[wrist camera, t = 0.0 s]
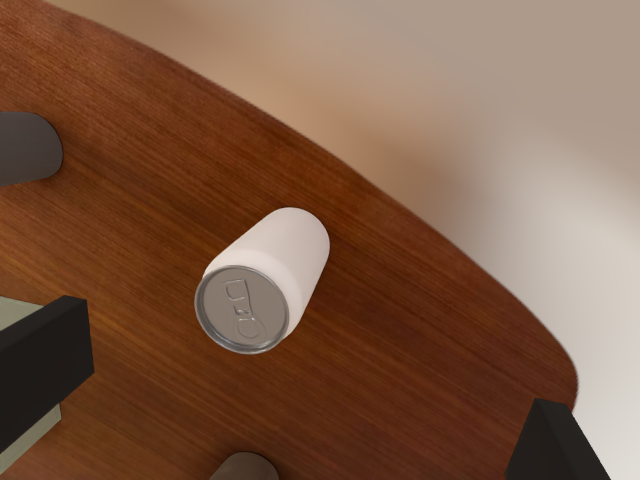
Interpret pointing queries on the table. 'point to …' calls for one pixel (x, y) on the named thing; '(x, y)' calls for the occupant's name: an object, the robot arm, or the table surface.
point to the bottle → (27, 148)
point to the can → (263, 282)
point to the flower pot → (245, 468)
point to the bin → (3, 315)
